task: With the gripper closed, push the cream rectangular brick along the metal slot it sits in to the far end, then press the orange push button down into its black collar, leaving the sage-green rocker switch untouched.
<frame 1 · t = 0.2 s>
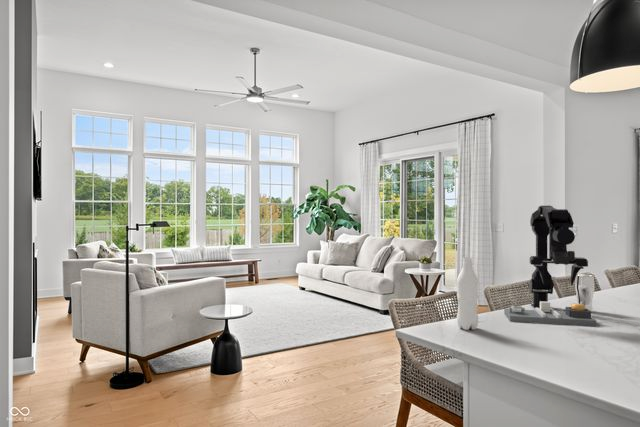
hand: (557, 284, 163), 14 cm above the kitchen island, fingers open, 9 cm apart
rocker: (516, 307, 170), point 4 cm above the kitchen island, hinge at -12.0°
button: (578, 307, 164), point 5 cm above the kitchen island, slide at 0.0 cm
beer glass: (584, 311, 182), on the kitchen island
cream rectangular brick: (544, 306, 171), point 4 cm above the kitchen island, slide at 0.0 cm
water bottle: (467, 328, 154), on the kitchen island
panel: (547, 319, 167), on the kitchen island
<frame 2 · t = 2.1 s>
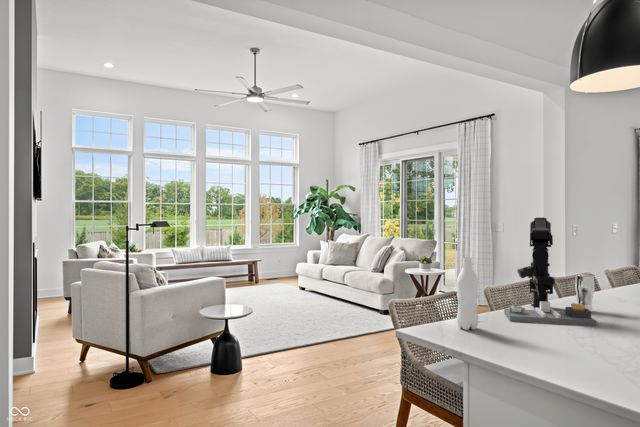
hand: (540, 298, 178), 6 cm above the kitchen island, fingers closed
nothing on the kitchen island moved.
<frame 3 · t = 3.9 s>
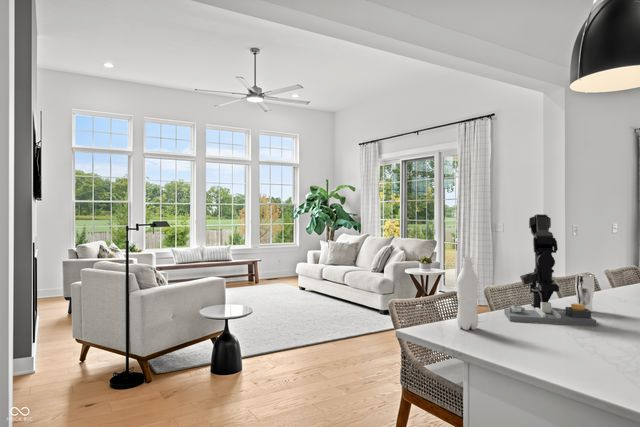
hand: (544, 306, 172), 4 cm above the kitchen island, fingers closed
cream rectangular brick: (545, 307, 169), point 4 cm above the kitchen island, slide at 1.5 cm, touching gripper
everything else where it was.
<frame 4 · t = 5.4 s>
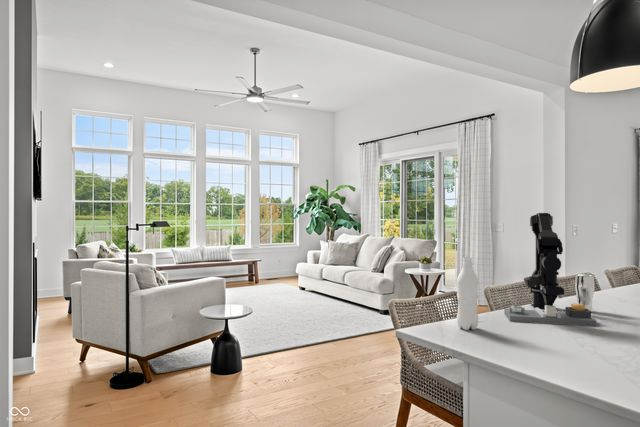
hand: (548, 309, 166), 4 cm above the kitchen island, fingers closed
cream rectangular brick: (550, 310, 163), point 4 cm above the kitchen island, slide at 7.9 cm, touching gripper
everything else where it was.
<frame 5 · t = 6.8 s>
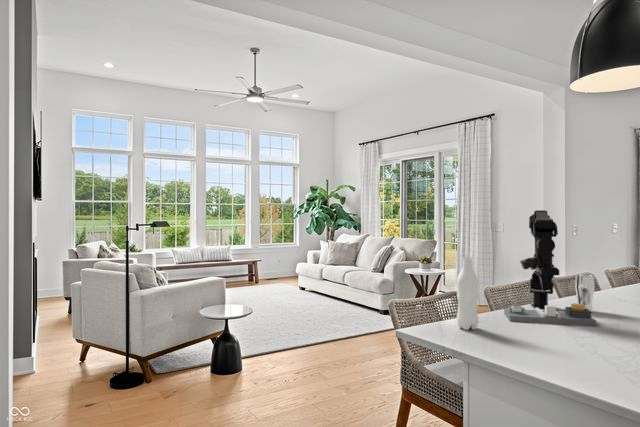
hand: (544, 290, 172), 10 cm above the kitchen island, fingers closed
cream rectangular brick: (550, 310, 163), point 4 cm above the kitchen island, slide at 7.9 cm
everything else where it was.
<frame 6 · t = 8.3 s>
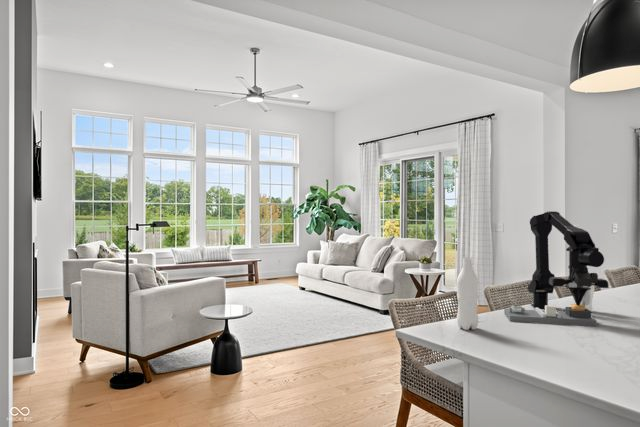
hand: (577, 305, 164), 6 cm above the kitchen island, fingers closed, pressing on button
button: (578, 308, 164), point 5 cm above the kitchen island, slide at 0.2 cm, touching gripper
everything else where it was.
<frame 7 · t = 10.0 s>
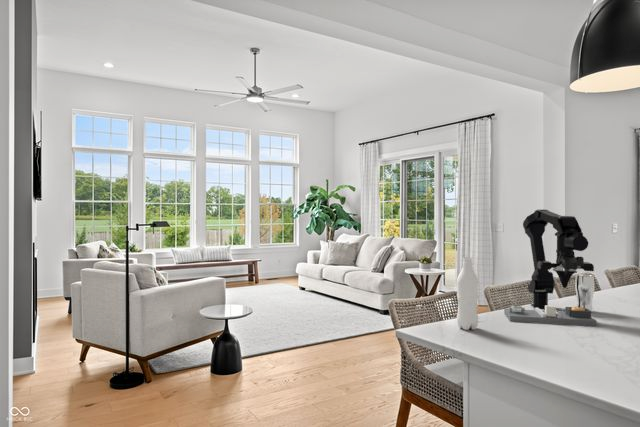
hand: (564, 287, 171), 11 cm above the kitchen island, fingers closed
button: (578, 311, 164), point 4 cm above the kitchen island, slide at 1.4 cm
everything else where it was.
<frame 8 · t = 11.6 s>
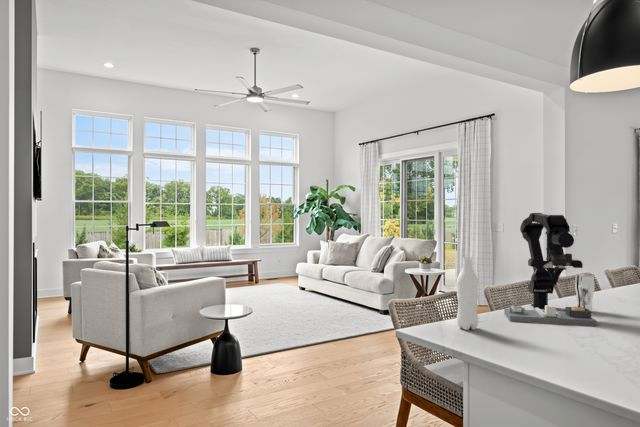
hand: (554, 284, 175), 12 cm above the kitchen island, fingers closed
nothing on the kitchen island moved.
at the end: cream rectangular brick slide at 7.9 cm; button slide at 1.4 cm; rocker at -12° (first picture: -12°) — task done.
